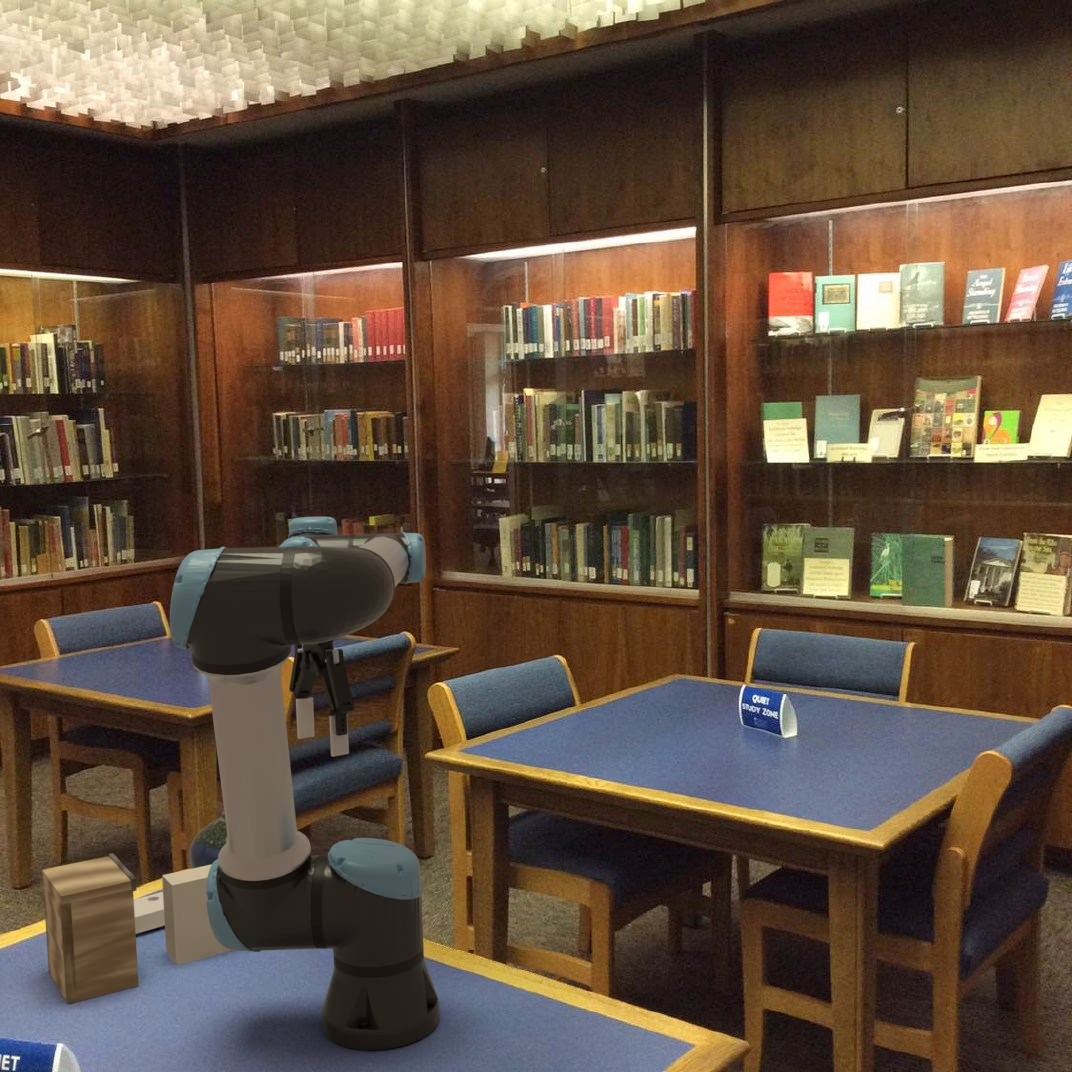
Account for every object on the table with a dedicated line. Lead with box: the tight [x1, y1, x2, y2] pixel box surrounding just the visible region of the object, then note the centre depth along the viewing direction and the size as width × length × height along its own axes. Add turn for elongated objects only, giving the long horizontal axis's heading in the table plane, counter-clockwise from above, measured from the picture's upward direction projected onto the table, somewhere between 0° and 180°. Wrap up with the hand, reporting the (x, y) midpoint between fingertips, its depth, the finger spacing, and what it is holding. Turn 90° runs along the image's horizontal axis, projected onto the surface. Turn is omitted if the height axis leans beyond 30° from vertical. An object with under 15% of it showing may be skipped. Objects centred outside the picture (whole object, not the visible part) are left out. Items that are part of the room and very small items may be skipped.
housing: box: [41, 852, 139, 1005], centre depth 175 cm, size 13×10×16 cm
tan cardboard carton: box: [161, 864, 234, 966], centre depth 184 cm, size 5×10×12 cm, turn 123°
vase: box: [188, 810, 228, 869], centre depth 209 cm, size 15×15×13 cm
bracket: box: [134, 891, 165, 935], centre depth 193 cm, size 13×7×8 cm, turn 131°
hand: (322, 746), depth 197 cm, fingers open, 13 cm apart
